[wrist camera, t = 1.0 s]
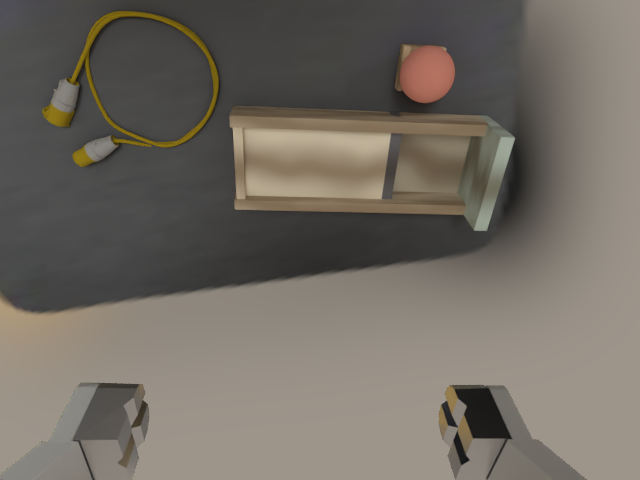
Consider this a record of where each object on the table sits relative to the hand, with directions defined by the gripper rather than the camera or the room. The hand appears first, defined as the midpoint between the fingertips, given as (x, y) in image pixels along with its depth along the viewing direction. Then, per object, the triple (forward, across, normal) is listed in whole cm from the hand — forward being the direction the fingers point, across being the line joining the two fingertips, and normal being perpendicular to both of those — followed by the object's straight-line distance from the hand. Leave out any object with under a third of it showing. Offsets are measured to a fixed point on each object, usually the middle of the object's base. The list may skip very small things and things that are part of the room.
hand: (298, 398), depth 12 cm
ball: (+29, -11, -3) cm, 31 cm away
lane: (+32, -6, +6) cm, 33 cm away
